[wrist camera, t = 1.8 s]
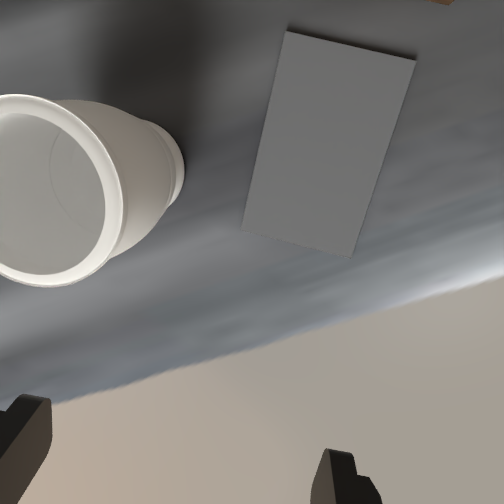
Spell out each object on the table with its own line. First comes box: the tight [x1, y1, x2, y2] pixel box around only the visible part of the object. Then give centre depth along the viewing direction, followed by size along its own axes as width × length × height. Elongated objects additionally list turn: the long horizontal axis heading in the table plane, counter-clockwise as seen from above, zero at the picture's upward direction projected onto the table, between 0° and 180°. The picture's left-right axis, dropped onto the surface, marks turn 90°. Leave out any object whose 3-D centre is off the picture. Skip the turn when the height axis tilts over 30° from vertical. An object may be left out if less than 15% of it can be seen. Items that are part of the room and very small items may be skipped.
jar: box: [0, 94, 184, 287], centre depth 28 cm, size 11×10×15 cm
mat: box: [240, 31, 416, 258], centre depth 33 cm, size 10×16×1 cm, turn 167°
